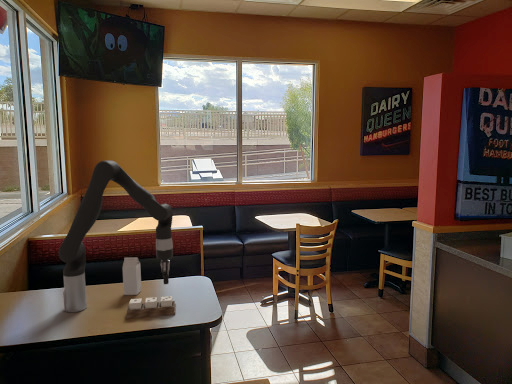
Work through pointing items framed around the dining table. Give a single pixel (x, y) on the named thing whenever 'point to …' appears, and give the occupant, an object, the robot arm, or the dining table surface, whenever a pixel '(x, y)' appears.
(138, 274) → the milk carton
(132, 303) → the tile one
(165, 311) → the brown tile tray
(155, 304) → the tile two
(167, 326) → the dining table surface
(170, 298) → the tile three
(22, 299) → the dining table surface
